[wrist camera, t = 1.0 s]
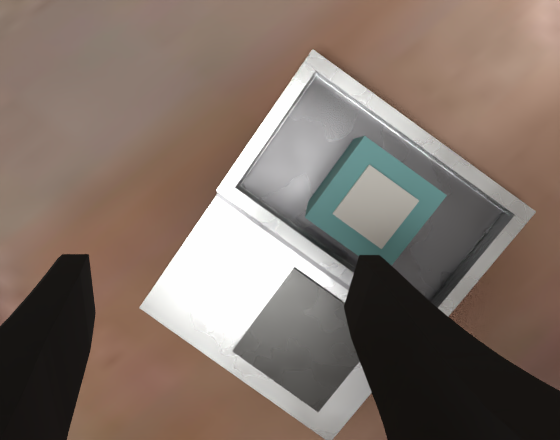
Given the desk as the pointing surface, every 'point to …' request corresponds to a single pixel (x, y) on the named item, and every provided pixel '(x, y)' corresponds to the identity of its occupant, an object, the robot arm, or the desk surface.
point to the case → (400, 144)
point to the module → (372, 201)
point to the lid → (264, 316)
